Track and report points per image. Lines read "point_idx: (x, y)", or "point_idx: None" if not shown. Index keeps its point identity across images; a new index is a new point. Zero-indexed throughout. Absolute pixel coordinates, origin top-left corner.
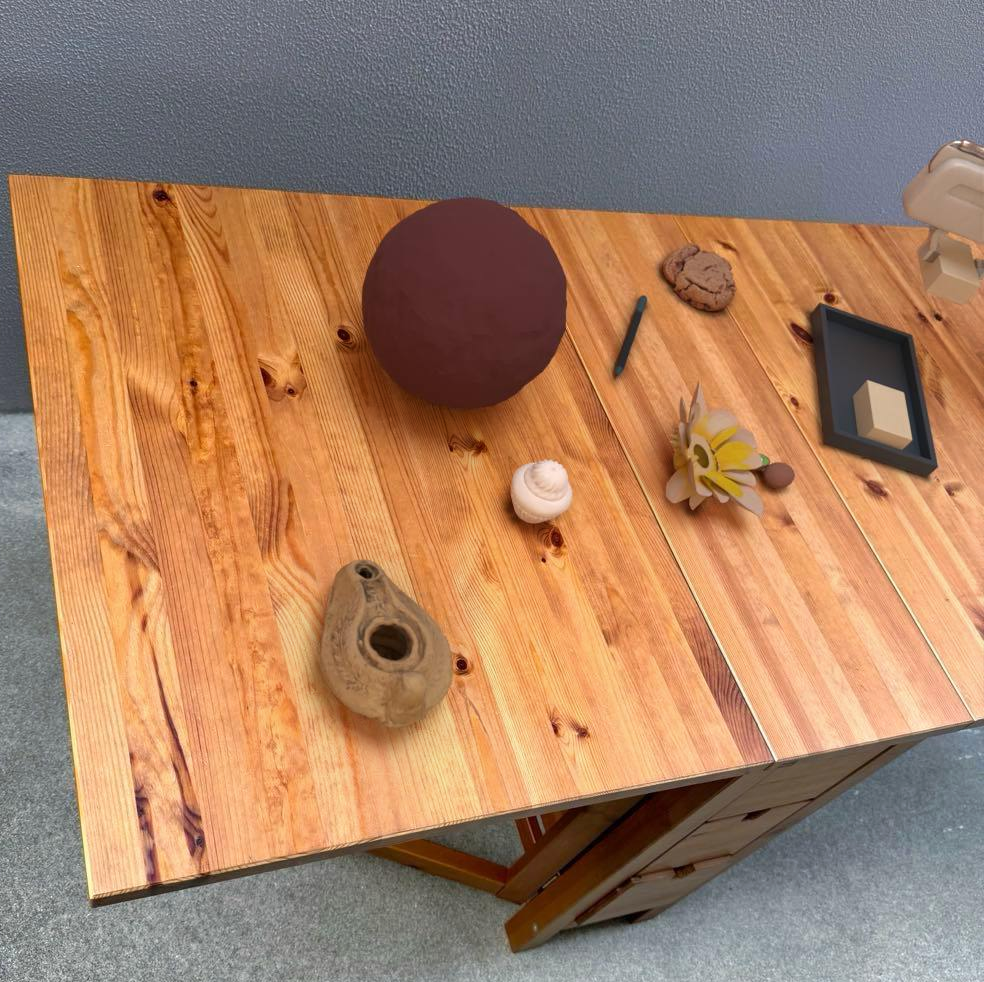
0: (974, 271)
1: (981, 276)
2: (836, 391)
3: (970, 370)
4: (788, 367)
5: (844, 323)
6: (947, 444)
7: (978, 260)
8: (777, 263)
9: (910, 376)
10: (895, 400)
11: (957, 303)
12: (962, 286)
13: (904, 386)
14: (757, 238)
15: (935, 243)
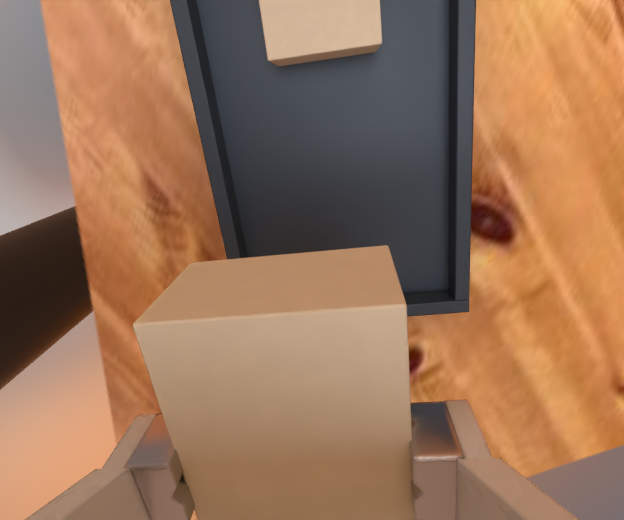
0: (184, 431)
1: (138, 431)
2: (421, 42)
3: (105, 322)
4: (540, 77)
5: None
6: (118, 46)
7: (174, 512)
8: (521, 399)
9: (233, 205)
10: (293, 2)
11: (218, 260)
12: (237, 296)
13: (241, 176)
14: (558, 442)
15: (515, 496)
